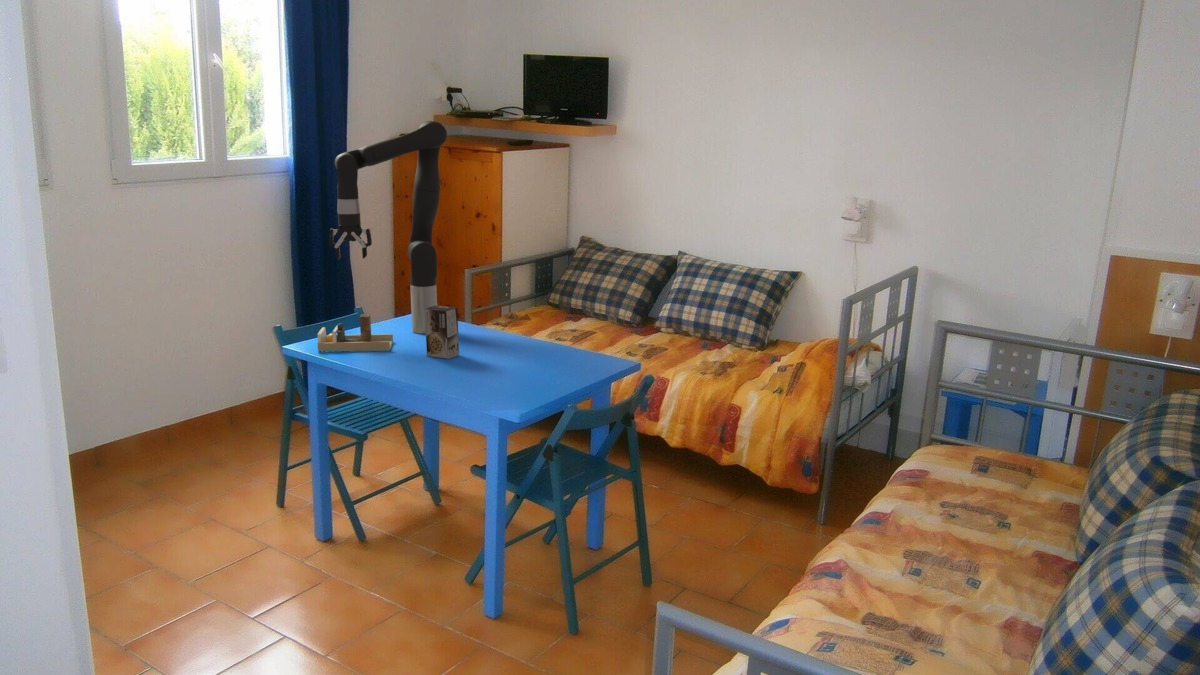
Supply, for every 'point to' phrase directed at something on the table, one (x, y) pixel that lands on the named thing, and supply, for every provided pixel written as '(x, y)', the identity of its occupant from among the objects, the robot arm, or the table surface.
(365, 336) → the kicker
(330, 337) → the ball
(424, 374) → the table surface
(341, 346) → the tan tray
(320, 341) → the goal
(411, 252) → the robot arm
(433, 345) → the coffee box
